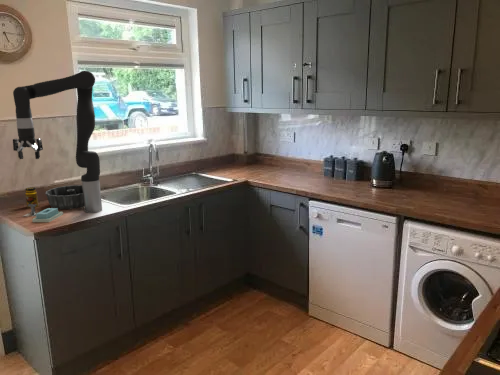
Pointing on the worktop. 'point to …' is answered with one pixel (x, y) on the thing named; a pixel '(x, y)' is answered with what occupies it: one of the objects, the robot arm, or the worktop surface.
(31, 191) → the condiment
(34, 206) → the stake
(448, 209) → the worktop surface
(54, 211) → the slotted block
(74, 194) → the bundt pan
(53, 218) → the tray
